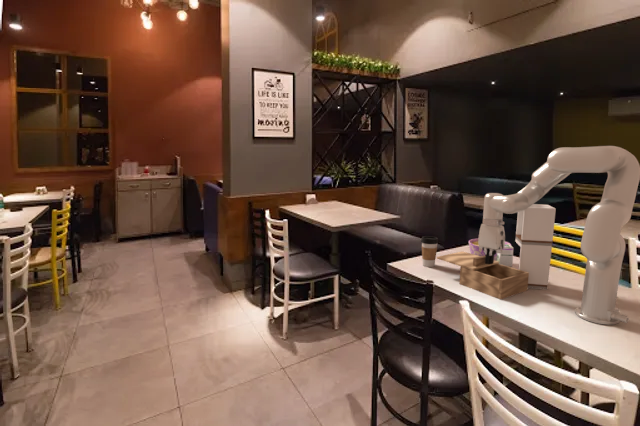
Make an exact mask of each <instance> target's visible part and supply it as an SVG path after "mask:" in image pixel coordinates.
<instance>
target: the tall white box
mask: <svg viewBox="0 0 640 426" xmlns="http://www.w3.org/2000/svg"><path fill="white" fill-rule="evenodd" d="M556 209H557V208H555V207H553V206H551V205H549V204H538V203H534V204H533V205H531V206H530V207H528V208H527V209H525V210H523V211H520V212H517V218H516V219H517V220H516V228H515V229H516V231H515V240H514V242H516V244H517V245H518V246H519V247H520V252H519V262H518V263H519V264H518V269H519V270H522V271H525V272H529V277H528V288H527V289H534V290H545V291H547V290H549V289H548V287H549V286H548V285H549V278H550V277H549V276H550V267H551V259H552V249H553V248H552V247H553V240H554V239H553V238H554V231H555V222H556V221H555V219H556Z"/></svg>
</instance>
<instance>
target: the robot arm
mask: <svg viewBox="0 0 640 426" xmlns="http://www.w3.org/2000/svg"><path fill="white" fill-rule="evenodd" d="M575 173H577V174H578V173H579V174H580V173H581V174H582V173H591V174H595V173H596V174H597V173H598V174H600V173H607V179H606V182H605V184H604V187H603V192H602V196H601V199H600V202H598V203H596V204H594V205H593V206H592V207H591V209H590V210H589V212H588V213H587V216H586V219H585V224H584V229H583V232H582V237H581V241H580V252H581V254H582V255H583V257H584V258H586V259H587V260H586V266H585V272H584V280H583V288H582V297H581V305H580V306H578V307H576V308H575V310H574V311H575V315H577V316H578V317H579V318H581V319H583V320H585V321H588V322H590V323H595V324H599V325H609V326H610V325H611V326H612V325H617V324H618V323H620V322H623V323H625V324H628V323H629V321H630V320H629V319H630V318H629V317H628V315H627V314H624V313H620V312H619V307H616V304H617V297H618V290H619V282H620V277H621V270H622V265H623V261H624V256H625V252H626V241H625V239H624V237H623V236H622V234H621V232H622V229H623V226H625V225H626V224H627V223H628V222H629V221H630V220H631V217H632V212H633V208H634V204H635V200H636V196H637V192H638V188H639V187H638V186H639V184H640V163H639V160H638V159H637V157H636V156H635V155H634V154H632V153H631V152H629V151H628V150H627V149H624V148H622V147H620V146H615V145H598V146H581V147H580V146H579V147H577V146H576V147H570V146H569V147H568V146H567V147H566V146H565V147H558V148H555V149H554V150H552V151H551V152H550V153H549V154H548V156H547V160H546V162H544V163H543V164H542V165H541V166H540V167H538V168H537V169H536V170H535V171H533V172H532V174H531V180H530V181H529V182H528V184H526V185H525V187H523V188H522V189H521V190H519V191H517V193H513V194H508V195H507V194H506V195H504V194H502V193H499V192H487V193H486V194H485V195H484V200H483V212H482V216H483V217H482V223H481V224H480V228H479V234H478V244H479V248H481V249H483V251H484V254H485V264H493V262H494V255H495V254H496V253H502V249H503V248H504V247H505V242H506V232H505V227H504V225H505V221H503V220H504V219H503V218H504V217H503V215H504V214H507V215H508V214H509V215H510V214H511V215H512V214H517V213H518V212H520V211H523V210H525V209H527V208H528V207H530V206H531V205H533V204H536V203H537V202H538V201H540V199H542V198H543V197H544V196H545V195H546V194H548V193H549V192H550V190H551V189H553V188H554V187H555V186H556V185H557V184H559V183H560V182H561V181H563V180H565V179H566V178H567V177H568V176H570V174H575Z"/></svg>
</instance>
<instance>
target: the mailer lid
mask: <svg viewBox="0 0 640 426" xmlns="http://www.w3.org/2000/svg"><path fill="white" fill-rule="evenodd" d="M436 259H437V260H441V261H443V262H446V263H449V264H451V265H456V266H458V267H464V268H467V269H470V270H476V269H479V268H483V267H487V266H491V265H495V264H499V262H498V261H495V260H494V262H493V264H485V256H477V255H474V254H471V252H466V251H464V250H463V251H458V252H454V253H449V254H444V255H443V254H442V255H440V256H436Z"/></svg>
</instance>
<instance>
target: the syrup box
mask: <svg viewBox="0 0 640 426" xmlns="http://www.w3.org/2000/svg"><path fill="white" fill-rule="evenodd" d="M513 258H514V247H513V246H512V244H511V245H508V244H505V247H504V248H503V249H502V253H497V261H498V262H499V264H501V265H505V266H508V267H512V268H513V260H514V259H513Z"/></svg>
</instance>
